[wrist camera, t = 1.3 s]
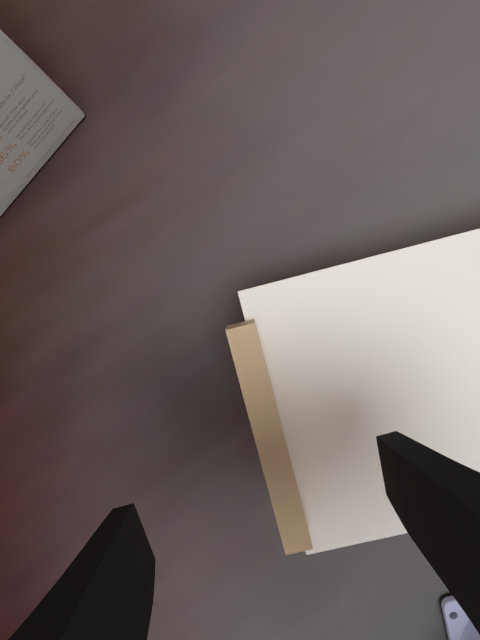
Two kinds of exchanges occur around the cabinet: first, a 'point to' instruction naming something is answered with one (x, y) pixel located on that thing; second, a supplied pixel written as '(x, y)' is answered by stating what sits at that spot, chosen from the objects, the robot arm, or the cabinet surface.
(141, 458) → the cabinet surface
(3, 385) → the cabinet surface
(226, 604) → the cabinet surface
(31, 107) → the small box
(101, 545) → the robot arm
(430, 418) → the lid
